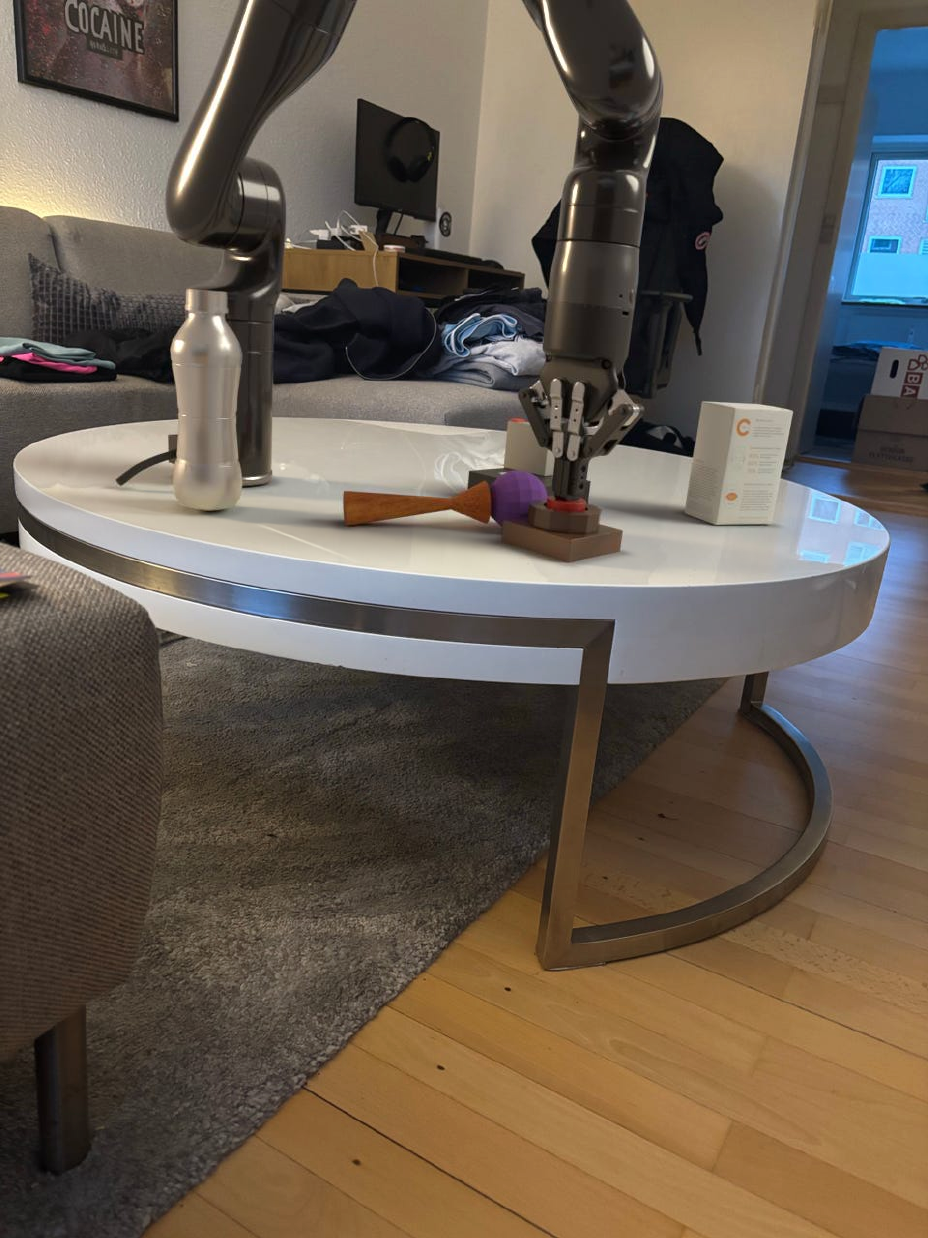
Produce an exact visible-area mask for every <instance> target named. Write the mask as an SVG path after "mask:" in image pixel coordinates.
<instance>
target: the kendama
mask: <svg viewBox="0 0 928 1238" xmlns="http://www.w3.org/2000/svg"><path fill="white" fill-rule="evenodd" d="M547 497H548V496H547V492H546V488H545V486H544V484H543V483H542V482H541V481H540V480H539V479H538V478H537V477H536V476H535V475H533V474H531V473H528V472H526V471H523V470H515V471H509V472H507V473H505V474H503V475H501V476H499V477H498V478H497V479H496V480H495V481H494V483H493V484H492V485H491V486H490V489H489V486H488V483H487V482H486V481H483V482H481V483H479V484H477V485H475V486H473V487H472V488H470V489H468V490H467V489H466V490H464V491H462V492H460V493H458V494H456V495H454V496H452V497H439V496H423V495H410V494H409V495H408V494H396V493H395V494H394V493H383V492H381V493H379V492H368V491H367V492H366V491H352V490H344V491H343V493H342V505H343V506H342V507H343V519H344V524H345V525H346V527H351V526H358V525H362V524H364V525H365V524H368V523H369V524H370V523H375V522H382V521H388V520H394V519H400V518H401V519H402V518H406V517H414V516H419V515H420V516H421V515H426V514H432V513H433V514H434V513H439V512H445V511H454V512H456V513H458V514H460V515H464V516H466V517H468V518H470V519H473V520H476V521H478V522H480V523H483V524H484V525H487V524H489V522H490V520H491V519H492V520H493V521H494V522H495V523H496V524H497V525H498V526H500V528H502V529H503V521H505V520H512V519H518V518H525V517H528V515H529V506H530V503H531V502H532V501H533V500H540V499H547Z"/></svg>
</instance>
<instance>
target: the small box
mask: <svg viewBox="0 0 928 1238" xmlns="http://www.w3.org/2000/svg"><path fill="white" fill-rule="evenodd" d="M699 411H700V412H699V418H698V424H697V431H696V437H695V443H694V449H693V455H692V462H691V469H690V475H689V481H688V489H687V495H686V501H685V507H684V513H685V515H687V516H691V517H692V518H693V517H694V518H696V519H698V520H701V521H703V522H706V523H709V524H711V525H715V526H721V525H723V526H725V525H727V526H729V525H772V524H773V519H774V514H775V507H776V503H777V498H778V492H779V488H780V484H781V483H780V482H781V479H782V478H781V477H782V471H783V467H784V461H785V456H786V450H787V445H788V440H789V435H790V429H791V424H792V419H793V415H794V411H793V410H792V409H791V410H790V409H787V408H782V407H779V406H778V407H777V406H772V405H766V404H759V403H742V402H722V401H721V402H719V401H704V400H703V401H701V405H700V410H699Z"/></svg>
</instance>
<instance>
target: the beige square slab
mask: <svg viewBox="0 0 928 1238" xmlns="http://www.w3.org/2000/svg"><path fill="white" fill-rule="evenodd" d="M504 447H505V448H504V458H503V464H504V466H503V468H508V469H513V470H523V471H526V472H528V473H532V474H536V475H541V476H550V475H553V469H554V460H555V458H554V455H553V453H552V452H551V451H550V450H549V449H547V448H546V447H541V446H540V445H539V444H538V441H537V439H536V437H535V435H534V432H533V430H532V428H531V425H530V423H529V421H525V419H523V418H518V417H517V418H510V419H509V420H508V421H507V427H506V439H505V446H504Z"/></svg>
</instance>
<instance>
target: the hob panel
mask: <svg viewBox="0 0 928 1238" xmlns="http://www.w3.org/2000/svg"><path fill="white" fill-rule="evenodd" d="M494 465H497V466H501V467H497V468H496V467H495V468H486V469H476V470H475V469H474V470H473V469H472V470H468V476H467V487H466V488H467V489H466V490H468V489H470V488H472V487H473V486H475V485H477V484H479V483H481V482H483V481H486V482H487V483H488V486H489V489H490V486H491V485H492V484H493V483H494V481H495V480H496V479H497V478H498V477H499V476H501V475H503V474H505V473H507V472H509V471H515V470H513V469H508V468H504V463H499V462H495V464H494ZM531 474H532V473H531ZM533 475H535V476H536V477H537V478H538V479H539V480H540V481H541V482H542V483H543V484H544V486H545V488H546V492H547V496H553V495H554V491H553V490H552V480H553V479H552V478H553V475H550V476H541V475H536V474H533ZM591 482H592V481H591V480H589V479H586V488H585V491H584V493H583V495H581V497H580V498H581V499H583V500H585V501H586V504H589V497H590V491H591V490H590V489H591V484H592V483H591Z"/></svg>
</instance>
